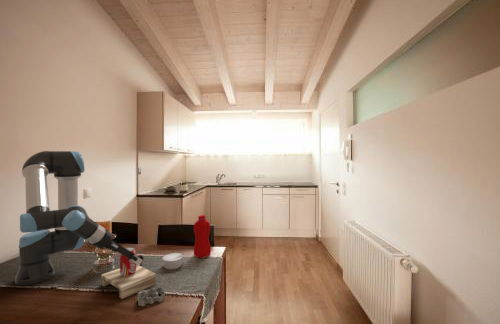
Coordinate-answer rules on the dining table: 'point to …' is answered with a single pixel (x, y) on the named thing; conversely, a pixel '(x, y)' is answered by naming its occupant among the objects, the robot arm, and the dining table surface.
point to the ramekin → (173, 260)
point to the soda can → (127, 264)
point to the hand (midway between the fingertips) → (133, 259)
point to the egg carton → (152, 292)
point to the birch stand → (129, 281)
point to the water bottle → (202, 237)
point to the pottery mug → (140, 258)
